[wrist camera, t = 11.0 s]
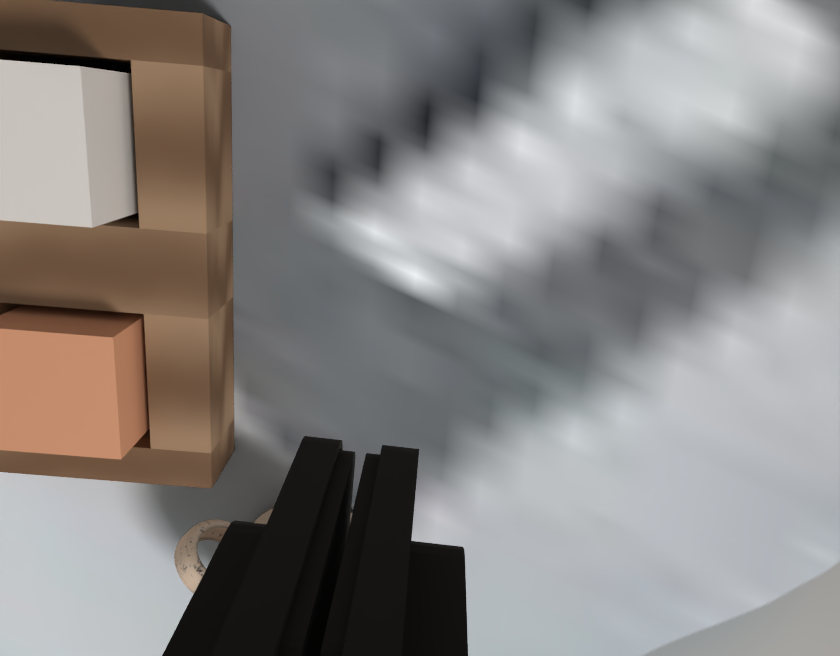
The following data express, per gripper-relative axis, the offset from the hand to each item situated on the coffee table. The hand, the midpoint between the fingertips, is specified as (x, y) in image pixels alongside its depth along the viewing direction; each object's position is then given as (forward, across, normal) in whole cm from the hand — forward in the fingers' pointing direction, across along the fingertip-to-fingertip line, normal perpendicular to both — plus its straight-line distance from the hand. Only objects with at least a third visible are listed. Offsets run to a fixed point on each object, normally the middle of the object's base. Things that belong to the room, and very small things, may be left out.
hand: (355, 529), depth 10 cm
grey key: (+22, +16, -2) cm, 28 cm away
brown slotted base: (+24, +16, +3) cm, 29 cm away
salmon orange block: (+23, +16, +9) cm, 29 cm away
